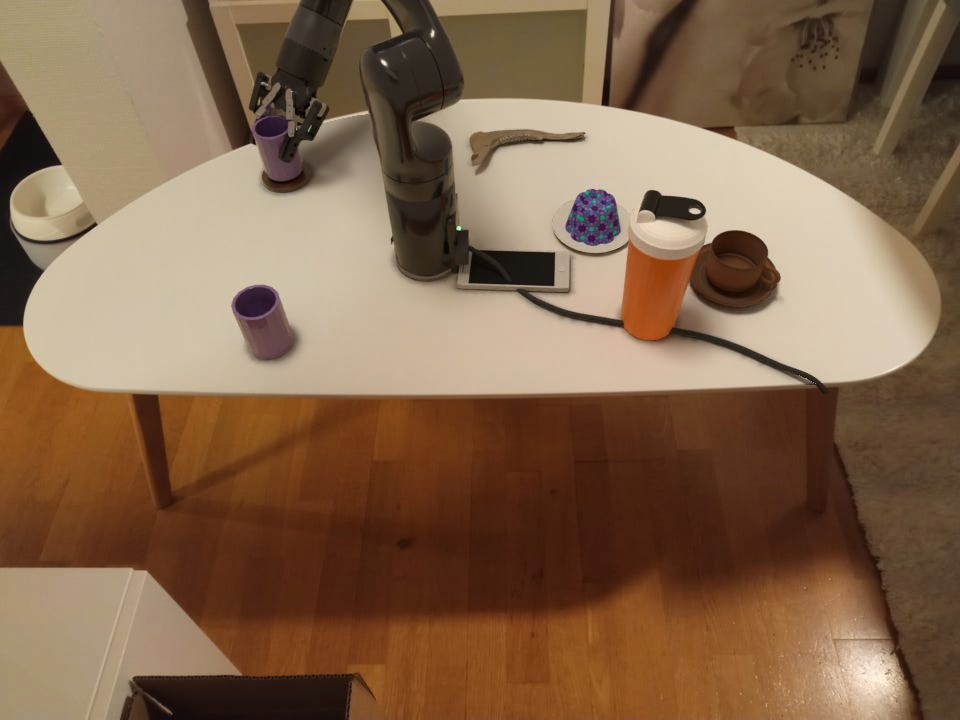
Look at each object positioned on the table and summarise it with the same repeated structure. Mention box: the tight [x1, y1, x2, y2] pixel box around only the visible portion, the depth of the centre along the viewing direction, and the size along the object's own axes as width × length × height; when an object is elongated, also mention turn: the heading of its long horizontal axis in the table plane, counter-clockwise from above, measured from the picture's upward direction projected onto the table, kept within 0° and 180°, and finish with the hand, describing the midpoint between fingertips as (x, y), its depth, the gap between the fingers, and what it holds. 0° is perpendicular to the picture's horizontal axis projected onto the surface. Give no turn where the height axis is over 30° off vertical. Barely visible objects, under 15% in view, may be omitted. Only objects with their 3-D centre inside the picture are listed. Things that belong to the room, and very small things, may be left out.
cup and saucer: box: [689, 229, 782, 307], centre depth 103 cm, size 12×12×6 cm
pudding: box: [551, 188, 631, 254], centre depth 110 cm, size 12×12×5 cm
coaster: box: [261, 160, 311, 193], centre depth 122 cm, size 8×8×1 cm
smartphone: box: [456, 248, 571, 293], centre depth 107 cm, size 7×16×1 cm, turn 85°
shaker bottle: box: [620, 188, 709, 341], centre depth 93 cm, size 9×9×20 cm
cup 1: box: [251, 114, 303, 181], centre depth 118 cm, size 6×6×8 cm
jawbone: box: [469, 128, 587, 167], centre depth 125 cm, size 9×20×2 cm, turn 115°
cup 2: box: [230, 284, 294, 360], centre depth 98 cm, size 6×6×8 cm
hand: (269, 152), depth 117 cm, fingers closed on cup 1, 6 cm apart
